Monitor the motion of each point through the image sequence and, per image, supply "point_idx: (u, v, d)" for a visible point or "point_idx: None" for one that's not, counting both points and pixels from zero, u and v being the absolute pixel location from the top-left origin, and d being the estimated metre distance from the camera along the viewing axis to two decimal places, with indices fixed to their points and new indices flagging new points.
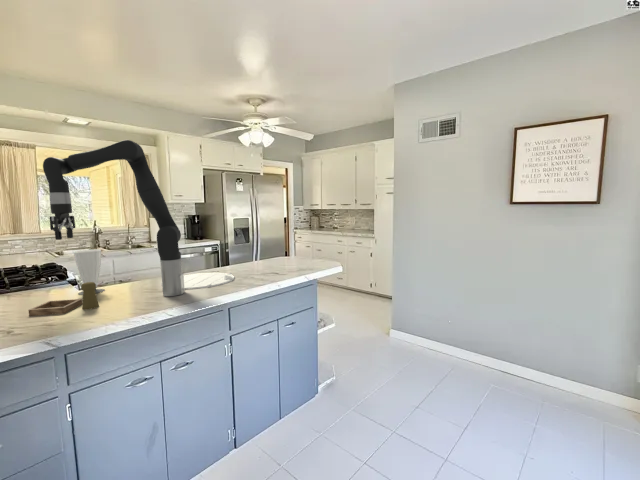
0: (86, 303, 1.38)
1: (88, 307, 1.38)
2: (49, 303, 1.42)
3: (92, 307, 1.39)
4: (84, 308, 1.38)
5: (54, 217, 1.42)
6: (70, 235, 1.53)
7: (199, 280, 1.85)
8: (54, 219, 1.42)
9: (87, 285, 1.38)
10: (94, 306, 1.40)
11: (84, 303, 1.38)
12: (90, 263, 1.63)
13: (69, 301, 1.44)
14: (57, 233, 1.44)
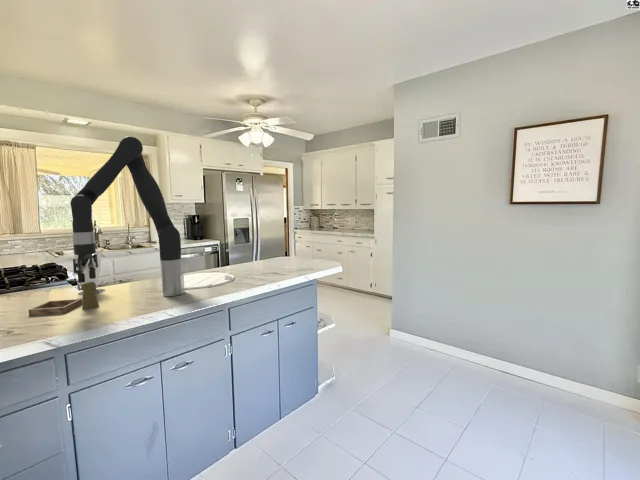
0: (86, 303, 1.38)
1: (88, 307, 1.38)
2: (49, 303, 1.42)
3: (92, 307, 1.39)
4: (84, 308, 1.38)
5: (78, 259, 1.32)
6: (93, 275, 1.43)
7: (199, 280, 1.85)
8: (78, 262, 1.32)
9: (87, 285, 1.38)
10: (94, 306, 1.40)
11: (84, 303, 1.38)
12: None
13: (69, 301, 1.44)
14: (80, 276, 1.34)
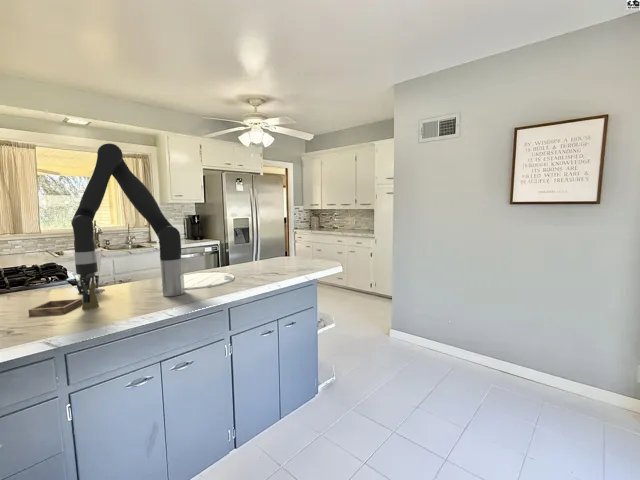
0: (86, 303, 1.38)
1: (88, 307, 1.38)
2: (49, 303, 1.42)
3: (92, 307, 1.39)
4: (84, 308, 1.38)
5: (81, 283, 1.33)
6: None
7: (199, 280, 1.85)
8: (81, 285, 1.34)
9: (87, 285, 1.38)
10: (94, 306, 1.40)
11: (84, 303, 1.38)
12: None
13: (69, 301, 1.44)
14: (86, 297, 1.37)
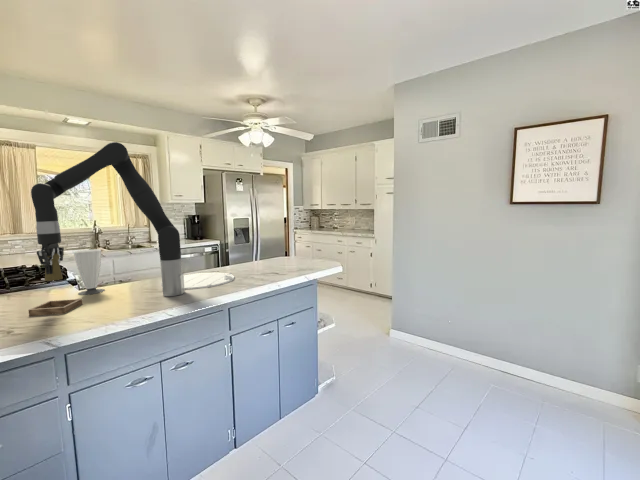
0: (48, 274, 1.35)
1: (50, 278, 1.35)
2: (49, 303, 1.42)
3: (55, 278, 1.36)
4: (46, 279, 1.35)
5: (42, 252, 1.30)
6: None
7: (199, 280, 1.85)
8: (42, 254, 1.30)
9: (49, 256, 1.34)
10: (57, 278, 1.36)
11: (46, 274, 1.35)
12: (90, 263, 1.63)
13: (69, 301, 1.44)
14: (48, 267, 1.34)
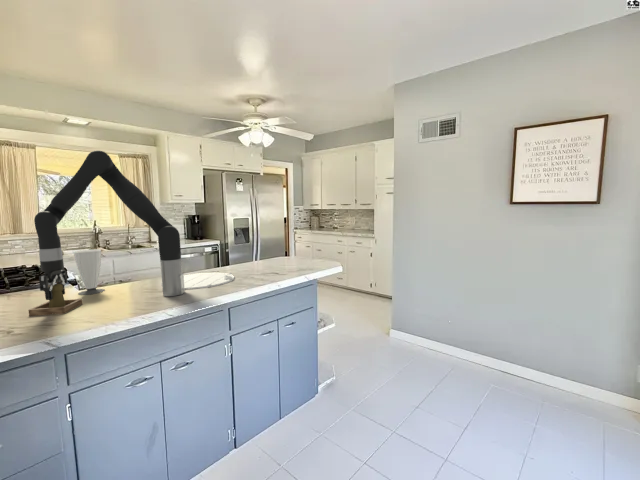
0: (52, 305, 1.36)
1: None
2: None
3: None
4: None
5: (44, 277, 1.31)
6: (62, 292, 1.42)
7: (199, 280, 1.85)
8: (44, 279, 1.31)
9: (53, 287, 1.36)
10: None
11: (50, 305, 1.36)
12: (90, 263, 1.63)
13: (69, 301, 1.44)
14: (47, 293, 1.33)
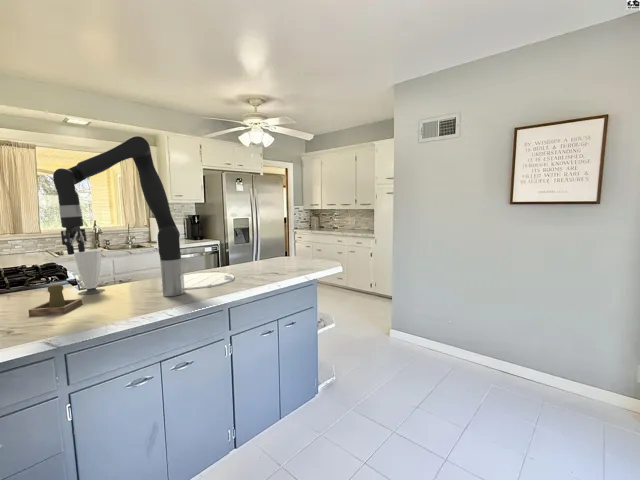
0: (52, 305, 1.36)
1: None
2: None
3: None
4: None
5: (66, 231, 1.35)
6: (82, 249, 1.46)
7: (199, 280, 1.85)
8: (66, 233, 1.35)
9: (53, 287, 1.36)
10: None
11: (50, 305, 1.36)
12: (90, 263, 1.63)
13: (69, 301, 1.44)
14: (69, 248, 1.37)
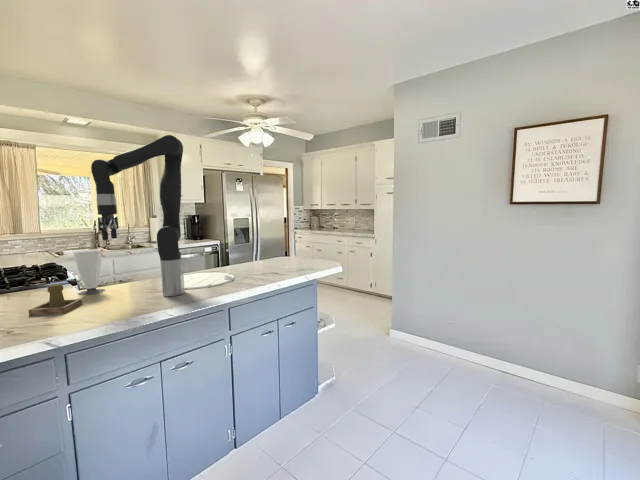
0: (52, 305, 1.36)
1: None
2: None
3: None
4: None
5: (102, 218, 1.45)
6: (114, 235, 1.56)
7: (199, 280, 1.85)
8: (102, 220, 1.45)
9: (53, 287, 1.36)
10: None
11: (50, 305, 1.36)
12: (90, 263, 1.63)
13: (69, 301, 1.44)
14: (104, 234, 1.47)
